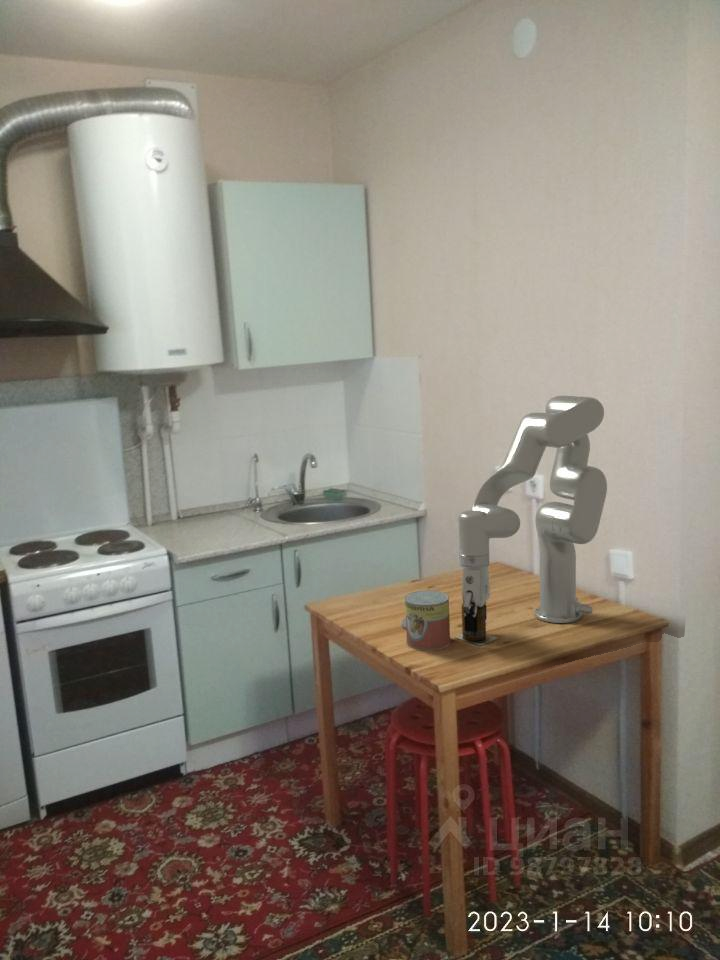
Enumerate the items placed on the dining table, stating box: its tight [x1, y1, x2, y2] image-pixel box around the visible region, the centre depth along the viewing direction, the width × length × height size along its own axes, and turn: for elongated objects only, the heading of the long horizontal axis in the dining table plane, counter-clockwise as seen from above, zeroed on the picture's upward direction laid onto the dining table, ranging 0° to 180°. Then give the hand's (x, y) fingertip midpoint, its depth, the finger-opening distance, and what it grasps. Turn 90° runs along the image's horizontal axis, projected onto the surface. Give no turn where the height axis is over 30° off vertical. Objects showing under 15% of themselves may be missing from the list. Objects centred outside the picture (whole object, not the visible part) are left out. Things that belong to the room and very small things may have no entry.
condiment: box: [455, 602, 499, 646], centre depth 203 cm, size 7×8×12 cm
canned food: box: [404, 590, 452, 652], centre depth 202 cm, size 11×11×12 cm
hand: (475, 624), depth 203 cm, fingers open, 8 cm apart
